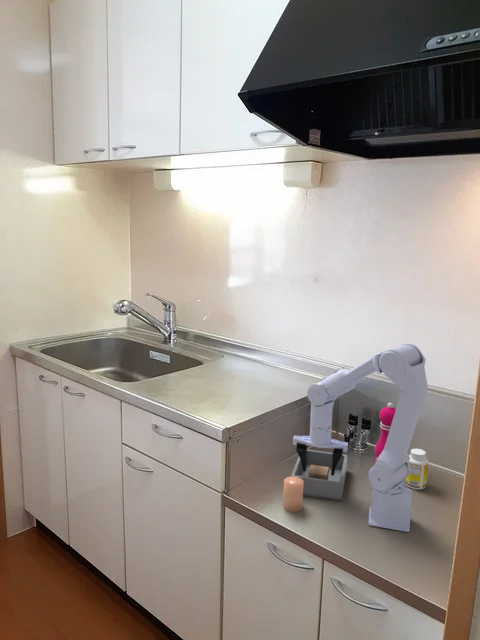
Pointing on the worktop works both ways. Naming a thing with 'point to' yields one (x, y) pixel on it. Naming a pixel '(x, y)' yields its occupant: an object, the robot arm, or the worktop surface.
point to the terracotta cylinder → (293, 494)
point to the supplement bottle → (417, 469)
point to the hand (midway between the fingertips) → (318, 471)
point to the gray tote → (319, 486)
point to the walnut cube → (318, 472)
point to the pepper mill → (384, 427)
